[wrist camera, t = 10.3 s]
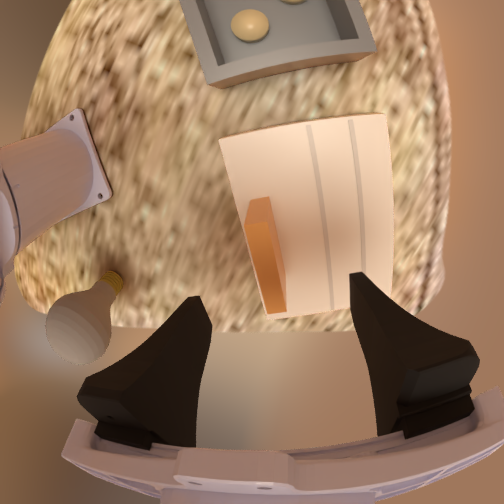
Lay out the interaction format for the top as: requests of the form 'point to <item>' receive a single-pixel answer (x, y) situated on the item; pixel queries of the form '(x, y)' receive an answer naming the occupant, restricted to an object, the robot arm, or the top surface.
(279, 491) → the robot arm
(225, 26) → the tub
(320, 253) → the lid
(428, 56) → the top surface
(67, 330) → the light bulb
